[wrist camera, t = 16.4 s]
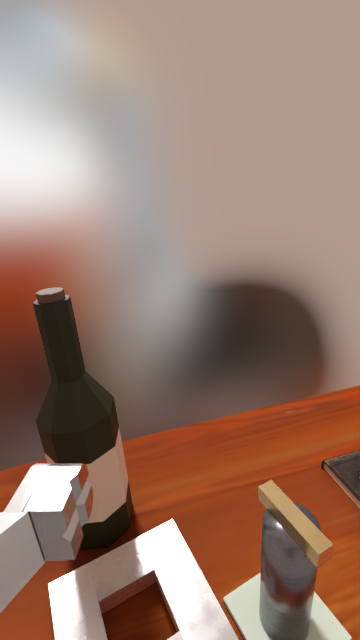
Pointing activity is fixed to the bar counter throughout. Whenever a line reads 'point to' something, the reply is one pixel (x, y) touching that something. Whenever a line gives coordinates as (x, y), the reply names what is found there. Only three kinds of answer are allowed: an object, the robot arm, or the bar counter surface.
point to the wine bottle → (81, 422)
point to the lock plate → (139, 589)
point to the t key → (288, 564)
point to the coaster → (243, 606)
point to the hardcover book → (346, 473)
